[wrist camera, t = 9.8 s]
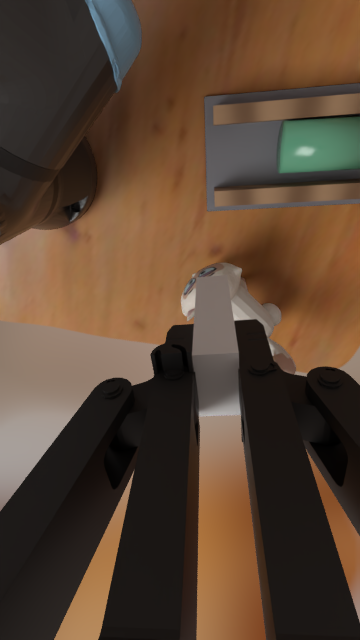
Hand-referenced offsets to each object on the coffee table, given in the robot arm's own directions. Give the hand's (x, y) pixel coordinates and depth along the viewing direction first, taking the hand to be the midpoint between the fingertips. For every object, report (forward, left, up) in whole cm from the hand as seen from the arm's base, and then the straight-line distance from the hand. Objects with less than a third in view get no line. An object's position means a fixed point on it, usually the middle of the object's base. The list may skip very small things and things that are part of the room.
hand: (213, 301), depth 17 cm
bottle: (+8, +6, -29) cm, 30 cm away
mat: (+10, +5, -32) cm, 34 cm away
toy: (+4, -14, -32) cm, 35 cm away
